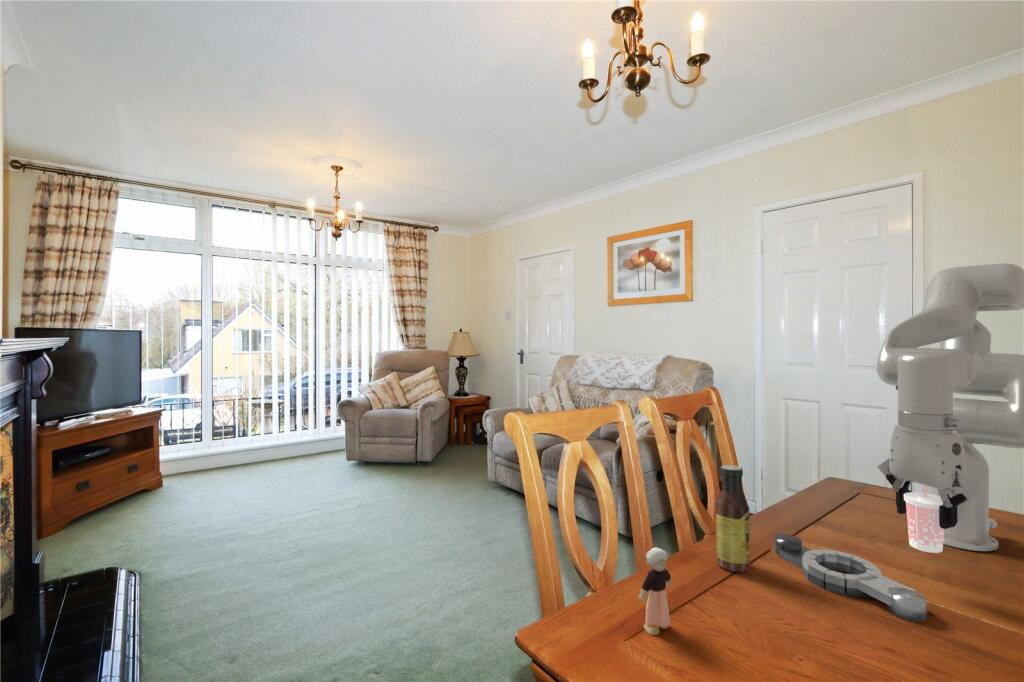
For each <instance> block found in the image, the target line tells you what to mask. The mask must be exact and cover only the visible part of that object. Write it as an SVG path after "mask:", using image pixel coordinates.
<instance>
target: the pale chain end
mask: <svg viewBox="0 0 1024 682" xmlns="http://www.w3.org/2000/svg"><path fill="white" fill-rule="evenodd" d="M810 550H811V551H806V552H805V553H804V555H803V557H802V565H803V567H804V568H805V569H806V570H807V572H808V573H810V574H812V575H814V576H815V577H817V578H819V579H821V580H823V581H825V582H829V583H832V584H836V585H839V586H843V587H845V586H846V587H847V588H856V589H858V590H860V591H862V592H864V593H866V594H868V595H870V596H871V597H872V598H874V599H876V600H878V601H879V602H882V603H884V604H886V605H887V610H888V612H890V613H891V614H892V615H894V616H895V617H897V618H900V619H902V620H905V621H907V622H908V621H910V622H913V623H914V622H915V623H922V622H925V621H927V598H926V597H925V596H924V595H922V594H920V593H919V592H917V591H916V590H915V589H914V588H911V587H909V586H906V585H904V584H903V583H900V582H898V581H896V580H893V579H892V578H889V577H887V576H885V575H883V574H882V571H881V569H880V568H878V567H877V566H876V565H875V564H874V563H873V562H871V561H869V560H867V559H865V558H863V557H860V556H857V555H855V554H851V553H847V552H844V551H840V550H835V549H820V548H818V549H810ZM824 561H828V562H838V563H842V564H846V565H850V566H852V567H854V568H856V569H858V570H861V571H862V572H863V574H859V575H853V574H851V573H842V572H838V571H837V570H833V569H827V568H825V567H823V566H821V565H819V564H818V563H819V562H824Z"/></svg>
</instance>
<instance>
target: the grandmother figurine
mask: <svg viewBox="0 0 1024 682" xmlns="http://www.w3.org/2000/svg"><path fill="white" fill-rule="evenodd" d="M668 558H669V557H668V554H667V552H666V551H665V550H663V549H662V548H658V547H657V546H656V547H653V548H651V549H650V550H648V551H647V553H646V561H647V564H649V566H650V568H651V569H650V570H649V571H648V572H647V575H646V577H645V579H644V581H643V583H642V586H641V589H640V594H639V595H638V600H639V601H640V602H645V601H646V598H647V601H646V605H645V621H644V622H645V623H644V625H643V628H644V630H645V631H646V632H647V634H649V635H651V636H658V635H659V634H660V632H661V631H660V629H662V630H667V629H668V628H670V626H671V619H670V618H671V617H670V612H669V611H670V610H669V605H668V595H667V590H666V587H673V584H674V583H673V580H672V577H671V574H670V572H669V571H668V570H667V568H666V567H667V562H666V561H667V560H668ZM648 593H649V594H648ZM647 596H648V597H647Z"/></svg>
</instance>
